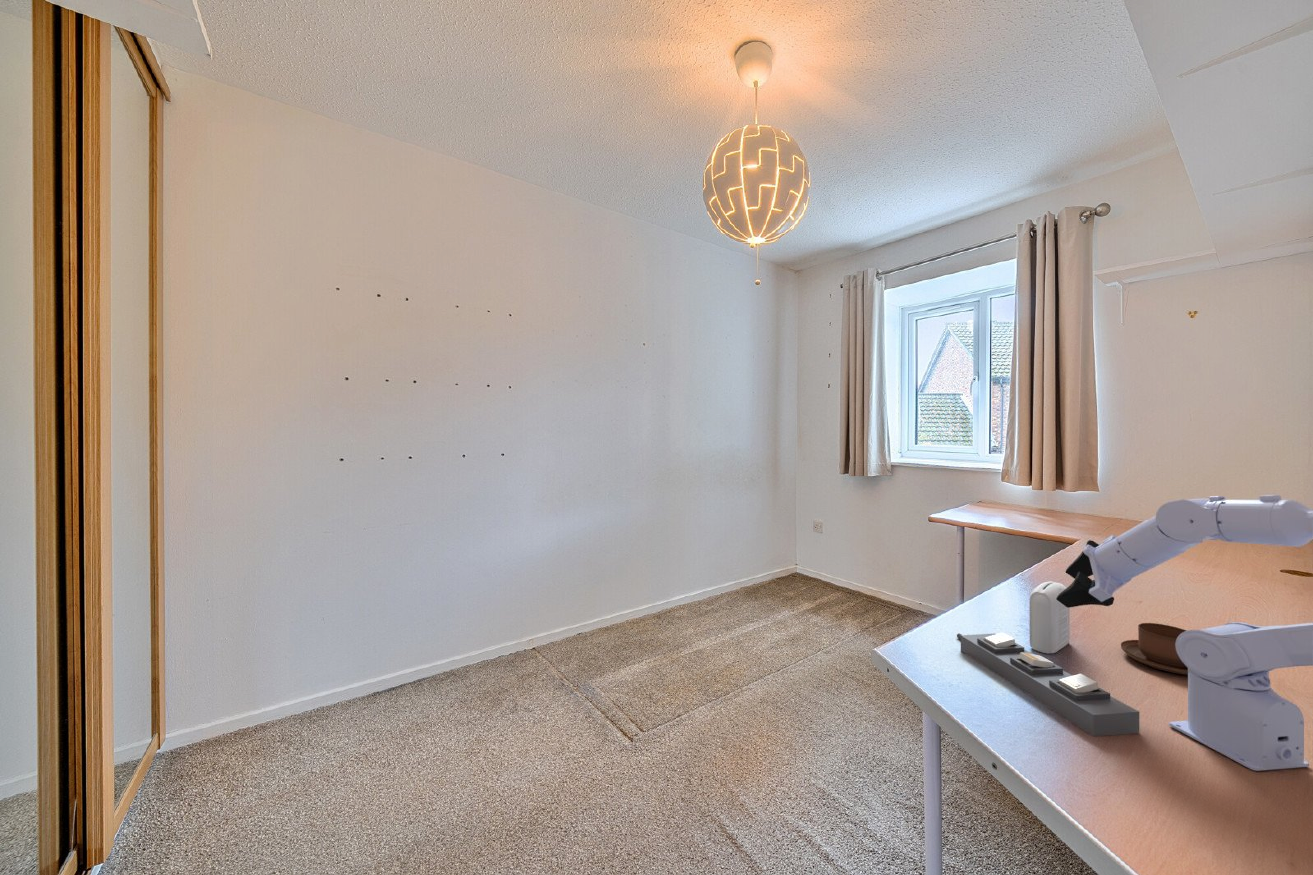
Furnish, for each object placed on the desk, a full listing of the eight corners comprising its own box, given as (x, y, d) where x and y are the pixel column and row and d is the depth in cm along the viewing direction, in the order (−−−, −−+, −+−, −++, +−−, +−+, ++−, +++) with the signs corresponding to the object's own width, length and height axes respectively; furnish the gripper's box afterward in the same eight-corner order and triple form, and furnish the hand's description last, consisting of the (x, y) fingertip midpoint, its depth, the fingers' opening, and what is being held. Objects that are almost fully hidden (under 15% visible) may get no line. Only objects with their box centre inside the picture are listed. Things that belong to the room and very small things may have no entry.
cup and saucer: (1182, 653, 91) (1182, 621, 91) (1240, 686, 79) (1240, 649, 79) (1105, 646, 94) (1105, 615, 94) (1149, 677, 82) (1149, 641, 82)
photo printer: (1046, 635, 99) (1046, 575, 99) (1073, 642, 95) (1072, 580, 95) (1026, 648, 93) (1025, 585, 93) (1053, 657, 90) (1053, 591, 90)
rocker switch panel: (1139, 732, 68) (1139, 705, 68) (1093, 736, 67) (1093, 709, 67) (973, 636, 99) (973, 618, 99) (941, 638, 98) (941, 619, 98)
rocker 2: (1098, 688, 72) (1097, 681, 72) (1076, 695, 71) (1075, 688, 71) (1081, 679, 74) (1080, 673, 74) (1060, 685, 74) (1059, 679, 74)
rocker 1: (1015, 643, 87) (1014, 638, 86) (997, 649, 86) (995, 643, 86) (1003, 637, 89) (1002, 632, 89) (985, 642, 89) (984, 637, 89)
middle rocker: (1052, 668, 79) (1053, 662, 79) (1032, 665, 79) (1033, 659, 79) (1038, 661, 82) (1039, 654, 82) (1019, 657, 81) (1020, 651, 81)
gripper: (1116, 508, 80) (1052, 548, 90) (1102, 560, 72) (1034, 598, 82) (1162, 537, 78) (1092, 575, 88) (1153, 594, 69) (1077, 629, 79)
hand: (1066, 588), depth 85 cm, fingers open, 7 cm apart
